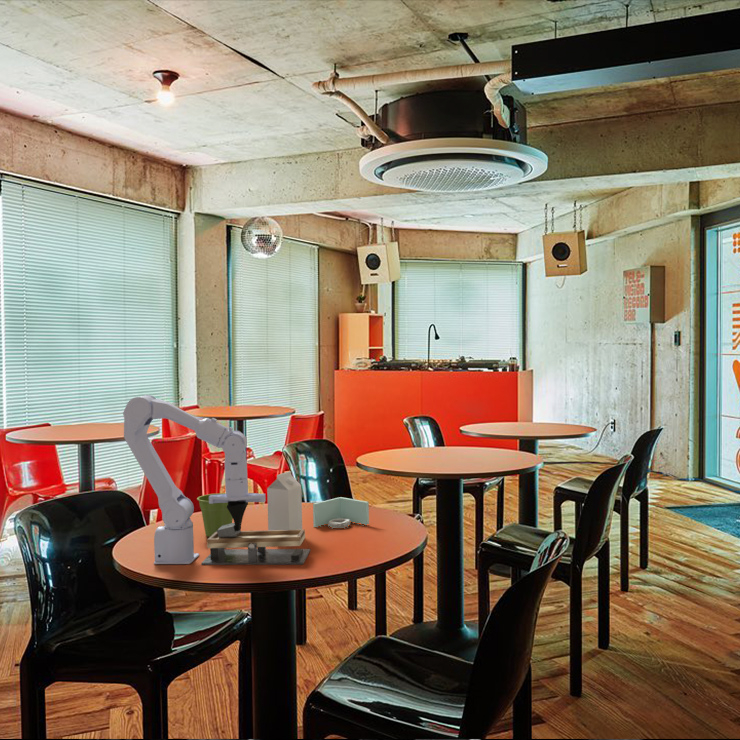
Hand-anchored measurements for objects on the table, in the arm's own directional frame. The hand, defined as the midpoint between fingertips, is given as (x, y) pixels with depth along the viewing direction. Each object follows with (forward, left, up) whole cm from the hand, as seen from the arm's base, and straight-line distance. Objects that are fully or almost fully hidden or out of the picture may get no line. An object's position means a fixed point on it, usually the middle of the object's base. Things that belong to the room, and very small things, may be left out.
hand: (238, 530), depth 178 cm
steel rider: (-2, 0, -2) cm, 3 cm away
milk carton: (+9, +18, -8) cm, 21 cm away
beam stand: (+5, 0, -7) cm, 9 cm away
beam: (+5, 0, -3) cm, 6 cm away
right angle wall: (+23, +32, -8) cm, 40 cm away
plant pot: (-12, +23, -8) cm, 27 cm away
